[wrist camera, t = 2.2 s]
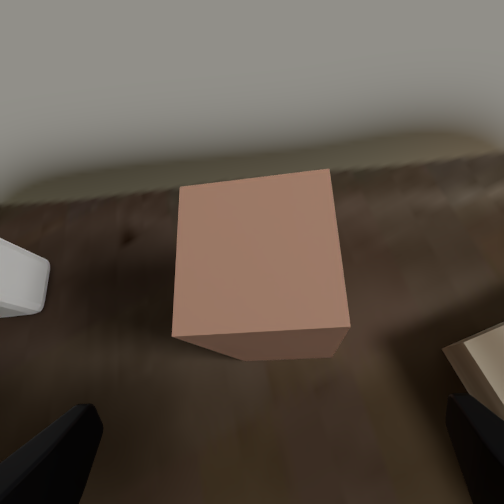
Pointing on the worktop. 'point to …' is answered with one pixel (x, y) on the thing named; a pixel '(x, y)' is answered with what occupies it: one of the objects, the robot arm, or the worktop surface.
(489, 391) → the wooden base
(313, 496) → the worktop surface
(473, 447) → the robot arm
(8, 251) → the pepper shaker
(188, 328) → the terracotta block
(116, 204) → the worktop surface
